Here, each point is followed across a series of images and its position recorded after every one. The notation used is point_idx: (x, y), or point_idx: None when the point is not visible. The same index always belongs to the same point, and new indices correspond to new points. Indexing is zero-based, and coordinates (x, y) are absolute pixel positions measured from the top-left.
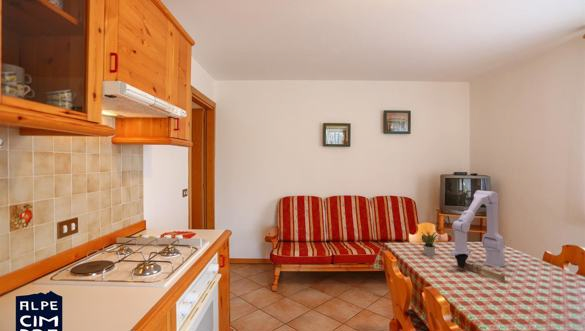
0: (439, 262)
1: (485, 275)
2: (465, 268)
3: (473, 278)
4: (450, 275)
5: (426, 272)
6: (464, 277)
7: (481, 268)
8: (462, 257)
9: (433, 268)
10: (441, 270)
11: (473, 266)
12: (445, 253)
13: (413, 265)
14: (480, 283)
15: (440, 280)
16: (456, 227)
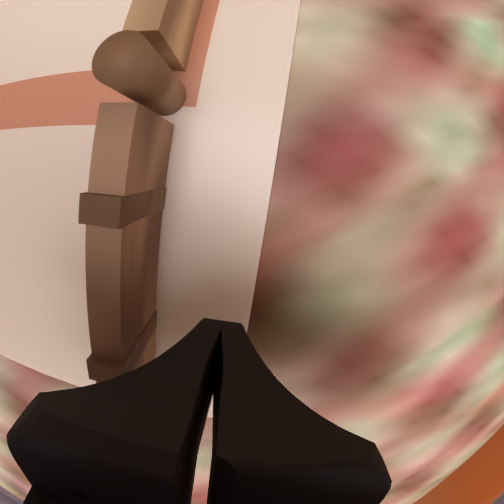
0: (198, 493)
1: (196, 7)
2: (153, 304)
3: (382, 88)
4: (476, 296)
5: (497, 406)
6: (437, 175)
7: (151, 20)
8: (379, 457)
9: (394, 452)
10: (401, 409)
11: (134, 177)
12: (22, 478)
13: (414, 496)
14: (440, 12)
15: None
16: None
